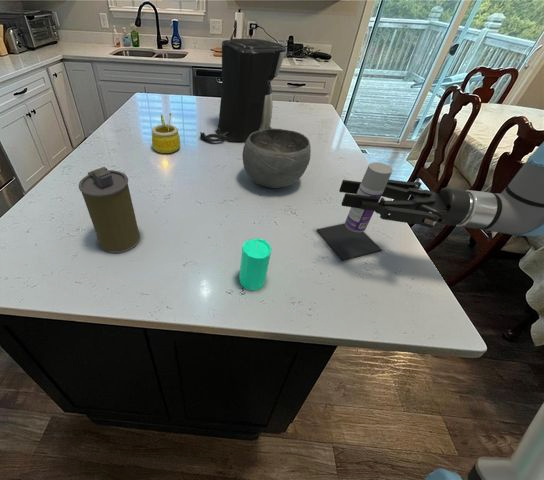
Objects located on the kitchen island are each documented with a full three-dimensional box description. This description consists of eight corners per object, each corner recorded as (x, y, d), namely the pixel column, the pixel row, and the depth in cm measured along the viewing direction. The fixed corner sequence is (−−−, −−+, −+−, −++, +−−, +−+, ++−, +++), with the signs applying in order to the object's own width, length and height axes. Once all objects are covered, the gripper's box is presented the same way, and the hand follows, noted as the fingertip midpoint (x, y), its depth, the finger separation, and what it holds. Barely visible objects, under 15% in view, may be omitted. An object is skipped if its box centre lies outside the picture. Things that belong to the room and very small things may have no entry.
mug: (174, 157, 111) (171, 125, 102) (147, 152, 113) (143, 120, 105) (187, 143, 120) (185, 113, 111) (163, 139, 122) (159, 109, 114)
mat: (381, 251, 77) (381, 249, 76) (342, 261, 74) (342, 259, 73) (352, 223, 85) (353, 221, 84) (316, 230, 82) (317, 229, 81)
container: (364, 221, 69) (391, 163, 59) (366, 234, 66) (395, 175, 56) (344, 217, 70) (366, 160, 60) (345, 230, 67) (369, 171, 57)
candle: (265, 271, 70) (272, 234, 62) (264, 291, 66) (272, 254, 58) (240, 268, 71) (244, 231, 62) (238, 288, 66) (241, 250, 58)
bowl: (313, 180, 102) (325, 138, 91) (281, 207, 89) (291, 162, 79) (263, 160, 111) (268, 120, 101) (228, 182, 99) (230, 139, 89)
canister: (148, 240, 77) (134, 172, 63) (111, 259, 71) (87, 189, 58) (126, 220, 82) (110, 154, 69) (91, 237, 77) (65, 168, 63)
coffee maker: (281, 130, 133) (296, 41, 110) (240, 155, 113) (248, 54, 90) (240, 117, 142) (246, 33, 119) (196, 138, 123) (193, 43, 100)
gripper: (465, 250, 56) (340, 232, 59) (436, 198, 69) (334, 185, 72) (491, 220, 51) (352, 201, 54) (454, 170, 64) (343, 157, 67)
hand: (342, 192), depth 63 cm, fingers closed on container, 5 cm apart
